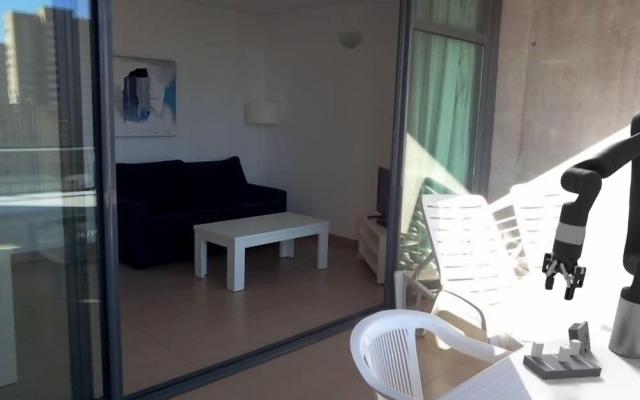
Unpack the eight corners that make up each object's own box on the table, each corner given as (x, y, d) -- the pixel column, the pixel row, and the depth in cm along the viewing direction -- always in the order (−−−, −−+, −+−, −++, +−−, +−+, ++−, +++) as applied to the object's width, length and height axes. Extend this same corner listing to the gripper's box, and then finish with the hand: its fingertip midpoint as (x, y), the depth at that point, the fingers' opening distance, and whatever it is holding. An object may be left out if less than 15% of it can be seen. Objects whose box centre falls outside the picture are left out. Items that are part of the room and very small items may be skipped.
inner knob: (574, 352, 159) (577, 339, 158) (578, 355, 158) (581, 342, 157) (567, 352, 158) (570, 340, 158) (571, 355, 157) (574, 342, 156)
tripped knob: (564, 358, 154) (567, 345, 153) (568, 361, 153) (571, 348, 152) (557, 359, 153) (560, 345, 153) (561, 361, 152) (564, 348, 151)
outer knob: (537, 354, 155) (540, 341, 154) (541, 356, 154) (544, 343, 153) (530, 354, 154) (533, 341, 154) (534, 357, 153) (537, 343, 152)
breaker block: (576, 360, 161) (578, 352, 160) (599, 376, 152) (601, 367, 152) (522, 363, 155) (524, 354, 154) (544, 379, 146) (546, 371, 146)
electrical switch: (583, 360, 162) (586, 329, 161) (564, 355, 165) (567, 325, 164) (590, 351, 169) (593, 322, 168) (573, 346, 172) (575, 318, 171)
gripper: (540, 232, 158) (530, 285, 162) (577, 246, 145) (565, 304, 148) (561, 232, 161) (551, 285, 164) (599, 247, 148) (587, 304, 151)
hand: (558, 294), depth 156 cm, fingers open, 7 cm apart
